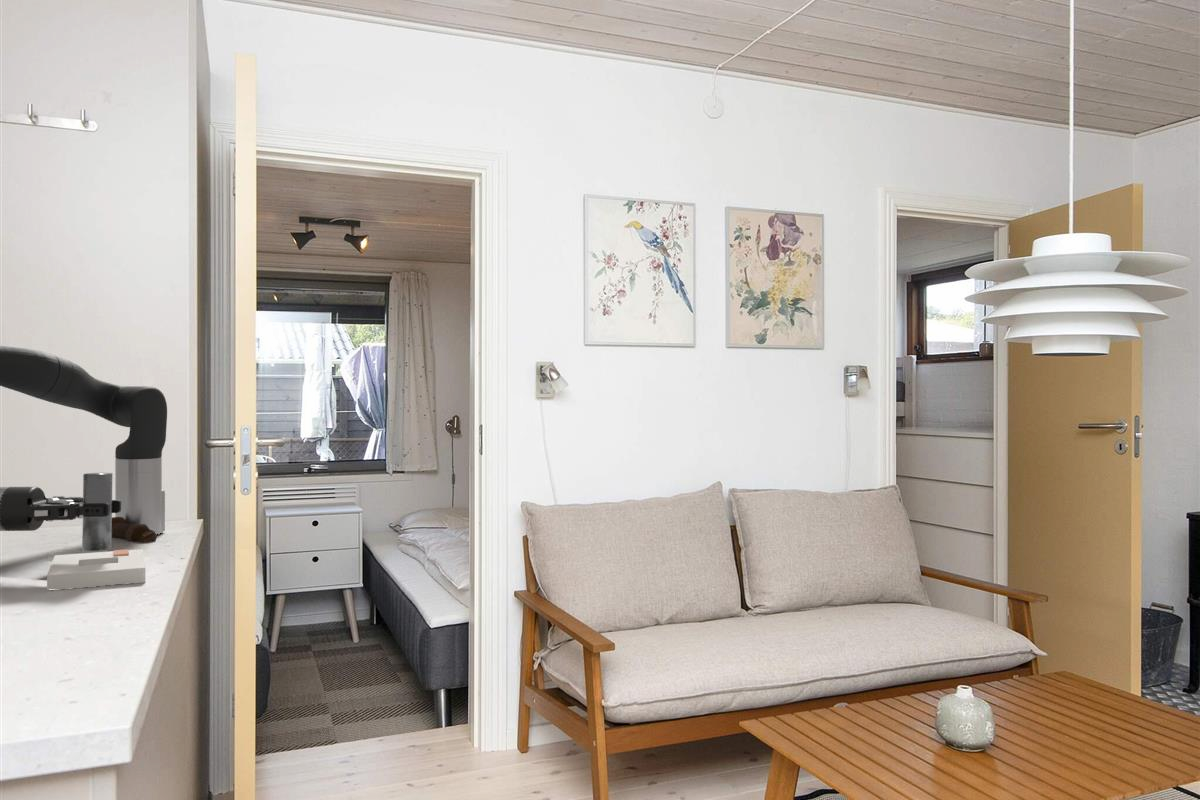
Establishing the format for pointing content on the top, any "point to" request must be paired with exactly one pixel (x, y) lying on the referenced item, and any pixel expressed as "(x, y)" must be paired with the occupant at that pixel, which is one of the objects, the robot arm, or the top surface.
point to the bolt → (132, 531)
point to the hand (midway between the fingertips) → (114, 508)
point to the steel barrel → (97, 528)
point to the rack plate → (96, 569)
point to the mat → (52, 554)
